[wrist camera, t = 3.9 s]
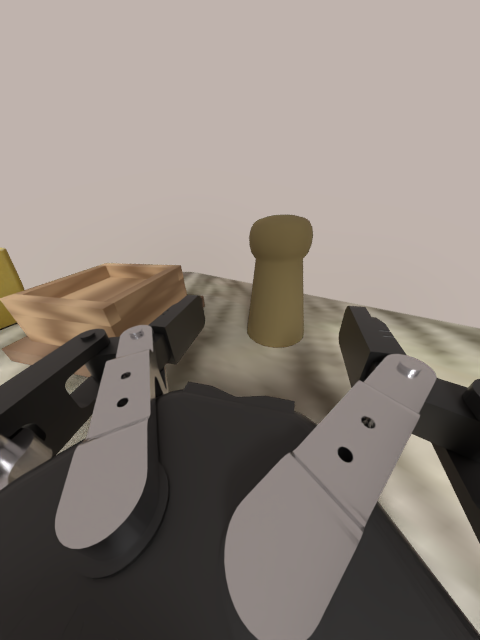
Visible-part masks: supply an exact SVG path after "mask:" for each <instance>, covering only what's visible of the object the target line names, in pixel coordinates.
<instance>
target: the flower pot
mask: <svg viewBox="0 0 480 640" xmlns="http://www.w3.org/2000/svg"><path fill="white" fill-rule="evenodd" d="M21 291H24V287H23V285H22V282H21V280H20V278H19V276H18V274H17V271H16V269H15V267H14V265H13V263H12V261H11V259H10V257H9V254H8V252H7V250H6V249H5V248H0V298H3V297H6V296H9V295H12V294H15V293H18V292H21ZM14 323H17V321H16V320H15V319H14V318H13V316H12V315H11V314H10V312H9V311H8V310H7V308H6V307H5V306H4V304H3V303H2V302H1V300H0V329H1V328H4V327H6V326H9V325H12V324H14Z"/></svg>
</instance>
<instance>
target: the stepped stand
mask: <svg viewBox="0 0 480 640" xmlns="http://www.w3.org/2000/svg"><path fill="white" fill-rule="evenodd" d="M186 295H187V293H186V288H185V283H184V278H183V274H182V269H181V266H180V265H150V264H148V265H146V264H115V263H105V264H102V265H99V266H96V267H93V268H90V269H87V270H84V271H81V272H78V273H75V274H72V275H69V276H66V277H63V278H60V279H57V280H54V281H51V282H48V283H45V284H42V285H39V286H36V287H33V288H30V289H27V290H24V291H21V292H18V293H15V294H12V295H9V296H6V297H3V298H0V300H1V302H2V303H3V304H4V306H5V307H6V308H7V310H8V311H9V312H10V314H11V315H12V316H13V318H14V319H15V320H16V321H17V323H18V324H19V325H20V327H21V328H22V329H23V331H24V332H25V333H26V335H27V336H26V337H24V338H22V339H20V340H18V341H16V342H14V343H12V344H10V345H8V346H6V347H4V348H2V350H3V351H4V352H5V354H6V355H7V356H8V357H9V358H10V359H11V360H12V361H15V362H19V363H24V364H29V365H33V364H34V363H36V362H37V361H39V360H40V359H42V358H43V357H45V356H46V355H48V354H49V353H51V352H52V351H54V350H56V349H57V348H59V347H60V346H62V345H63V344H65V343H66V342H68V341H69V340H71V339H72V338H74V337H75V336H77V335H78V334H80V333H83V332H85V331H88V330H92V329H104V330H105V331H106V333H107V335H108V337H120V336H121V334H122V333H123V332H124V331H126V330H127V329H129V328H131V327H134V326H138V325H149V324H150V323H151V322H153V321H154V320H155V319H156V318H157V317H159V316H160V315H162V313H163V312H165V311H166V310H167V309H168V308H169V307H170V306H172V305H174V304H176V303H178V302H179V301H181V300H182V299H183V298H184V297H185V296H186ZM200 297H201V299H202V303H203V308H204V306H205V304H204V297H203V296H200ZM74 374H76V375H81V376H86V377H90V376H91V374H90V372H89V371H88V369H87V368H86V366H85V365H83V366H82V367H81V368H80V369H79V370H77V371H76V372H75V373H74Z"/></svg>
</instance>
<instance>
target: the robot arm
mask: <svg viewBox="0 0 480 640" xmlns="http://www.w3.org/2000/svg"><path fill="white" fill-rule="evenodd" d="M204 324H205V316H204V310H203V303H202V299H201V297H200V296H198V295H186V296H185V297H184V298H183V299H182V300H181V301H179V302H178V303H176V304H174V305H172V306H170V307H169V308H168V309H167V310H166V311H165V312H163V313H162V315H160V316H159V317H157V318H156V319H155V320H154V321H153V322H151V323H150V324H149V325H138V326H134V327H131V328H129V329H127V330H126V331H124V332H123V333H122V334H121V336H120V337H108V335H107V333H106V331H105V330H104V329H92V330H88V331H85V332H83V333H80V334H78V335H77V336H75V337H74V338H72V339H71V340H69V341H68V342H66V343H65V344H63V345H62V346H60V347H59V348H57V349H56V350H54V351H52V352H51V353H49V354H48V355H46V356H45V357H43V358H42V359H40V360H39V361H37V362H36V363H34V364H33V365H31V366H30V367H28V368H27V369H25V370H24V371H22V372H21V373H19V374H18V375H16V376H14V377H13V378H11V379H10V380H8V381H7V382H5V383H4V384H2V385H1V386H0V640H480V634H479V633H478V631H477V630H476V629H475V628H474V626H473V625H472V624H471V622H470V621H469V620H468V618H467V617H466V616H465V615H464V613H463V612H462V611H461V609H460V608H459V607H458V605H457V604H456V603H455V601H454V600H453V599H452V598H451V596H450V595H449V594H448V592H447V591H446V590H445V588H444V587H443V586H442V584H441V583H440V582H439V581H438V579H437V578H436V577H435V575H434V574H433V573H432V571H431V570H430V569H429V568H428V566H427V565H426V564H425V562H424V561H423V560H422V558H421V557H420V556H419V554H418V553H417V552H416V551H415V549H414V548H413V547H412V545H411V544H410V543H409V541H408V540H407V539H406V537H405V536H404V535H403V534H402V532H401V531H400V530H399V528H398V527H397V526H396V524H395V523H394V522H393V521H392V519H391V518H390V517H389V515H388V514H387V513H386V511H385V510H384V509H383V507H382V506H381V505H380V504H379V502H378V499H379V497H380V495H381V493H382V491H383V489H384V487H385V485H386V483H387V481H388V479H389V477H390V475H391V473H392V471H393V469H394V467H395V465H396V463H397V461H398V459H399V457H400V455H401V453H402V451H403V449H404V447H405V445H406V443H407V441H408V439H409V437H410V436H411V434H414V435H416V436H418V437H421V438H423V439H425V440H427V441H430V442H431V443H432V445H433V447H434V449H435V451H436V453H437V455H438V458H439V460H440V462H441V464H442V466H443V468H444V470H445V472H446V474H447V476H448V478H449V480H450V483H451V485H452V487H453V489H454V491H455V493H456V495H457V497H458V499H459V501H460V503H461V506H462V508H463V510H464V512H465V514H466V516H467V518H468V520H469V522H470V524H471V526H472V529H473V531H474V533H475V535H476V537H477V539H478V541H479V543H480V379H477V380H475V381H474V382H473V383H472V384H471V385H470V386H469V387H468V388H467V387H464V386H461V385H457V384H454V383H451V382H448V381H444V380H441V379H438V378H437V377H436V374H435V372H434V371H433V370H432V369H431V368H430V367H429V366H428V365H427V364H425V363H424V362H422V361H420V360H418V359H416V358H413V357H410V356H407V355H406V353H405V352H404V351H403V349H402V348H401V346H400V345H399V343H398V342H397V340H396V339H395V338H394V336H393V335H392V333H391V332H390V330H389V329H388V327H387V326H386V324H385V323H383V322H382V321H380V320H379V319H377V318H374V317H371V316H370V314H369V312H368V311H367V309H366V308H365V307H357V306H347V308H346V310H345V313H344V317H343V321H342V324H341V328H340V332H339V345H340V348H341V352H342V355H343V359H344V363H345V366H346V370H347V373H348V377H349V380H350V384H351V389H350V390H349V391H348V393H347V394H346V395H345V396H344V397H343V398H342V399H341V400H340V401H339V402H338V403H337V405H336V406H335V407H334V408H333V409H332V410H331V411H330V412H329V413H328V414H327V415H326V417H325V418H324V419H323V420H322V421H321V422H320V423H319V424H318V425H316V424H315V423H314V422H313V421H311V420H310V419H309V418H307V417H306V416H304V415H302V414H300V413H298V412H296V411H294V401H290V400H285V399H280V398H274V397H269V396H251V397H235V396H232V395H230V394H228V393H226V392H224V391H222V390H219V389H217V388H215V387H213V386H209V385H204V384H198V383H193V382H188V383H187V385H186V386H185V388H184V390H177V391H172V392H169V389H168V381H167V373H166V368H165V365H166V364H167V363H170V364H177V363H178V361H179V360H180V359H181V357H182V356H183V355H184V353H185V352H186V351H187V349H188V348H189V346H190V345H191V344H192V342H193V341H194V340H195V338H196V337H197V336H198V334H199V333H200V332H201V330H202V329H203V327H204ZM83 365H85V366H86V368H87V369H88V371H89V372H90V374H91V376H90V377H89V378H88V379H87V380H85V381H84V382H83V383H82V384H81V385H80V386H79V387H78V388H77V389H76V390H75V391H73V392H72V393H71V394H70V395H69V393H68V392H67V391H66V389H65V383H66V381H67V379H68V378H69V377H70V376H71V375H72V374H74V373H75V372H76V371H77V370H79V369H80V368H81V367H82V366H83ZM91 415H92V418H91V422H90V426H89V430H88V434H87V436H86V438H85V439H83V440H82V441H80V442H78V443H77V444H75V445H73V446H71V447H70V448H68V449H66V450H64V451H63V452H61V453H59V454H58V455H56V454H57V453H58V452H59V451H60V450H61V449H62V448H63V447H64V445H65V444H66V443H67V442H68V441H69V440H70V439H71V438H72V436H73V435H74V434H75V433H76V432H77V431H78V430H79V429H80V428H81V426H82V425H83V424H84V423H85V422H86V421H87V420H88V419H89V417H90V416H91Z"/></svg>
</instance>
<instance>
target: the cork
mask: <svg viewBox="0 0 480 640" xmlns="http://www.w3.org/2000/svg"><path fill="white" fill-rule="evenodd" d="M312 238H313V231H312V226H311V224H310V221H308V220H307V219H306V218H303V217H299V216H295V215H273V216H269V217H265V218H263V219H259V220H257V221H256V222H255V223H254V224H253V226H252V228H251V231H250V236H249V239H250V240H249V241H250V248H251V252H252V254H253V255H254V257H255V258H256V263H255V271H254V279H253V287H252V295H251V303H250V311H249V319H248V327H247V333H248V335H249V337H250V338H251V339H252V340H254V341H255V342H256V343H259V344H261V345H263V346H268V347H273V348H277V347H287V346H292V345H294V344H296V343H298V342H299V341H300V340H301V339H302V338H303V333H304V316H303V258H304V257H305V256H306V255H307V253H308V252H309V249H310V246H311V244H312Z"/></svg>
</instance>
